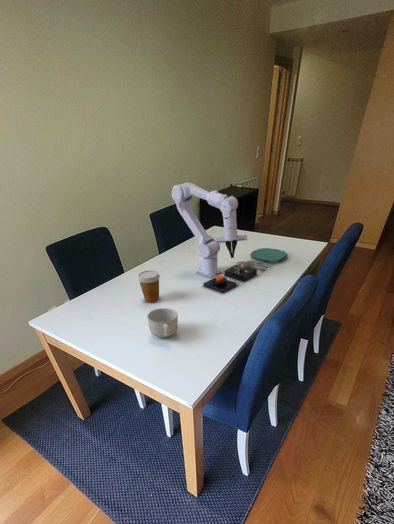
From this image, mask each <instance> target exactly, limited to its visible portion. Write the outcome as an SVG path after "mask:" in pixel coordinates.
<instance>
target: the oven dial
mask: <svg viewBox="0 0 394 524" xmlns="http://www.w3.org/2000/svg"><path fill="white" fill-rule="evenodd" d="M245 262H246V261H244V260H242V261H237V262H236V265H237V271H244V270H245V265H246V264H245Z"/></svg>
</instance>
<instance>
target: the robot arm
mask: <svg viewBox="0 0 394 524" xmlns="http://www.w3.org/2000/svg"><path fill="white" fill-rule="evenodd" d="M193 197H196V198H199V199H202V200H203V201H204V200H205V201H206V202H207V204H208V205H209V206H211V207H214V208H216V209H218V210H220V212H221V213H222V214H221V215H222V219H223V220H222V221H223V232H224V236H222V237H217V238H214V236H213V235H210V234H208V232H207V231H206V230H205V228H204V227H203V225H202V223H201V222H200V221H199V219H198V217H197V216H196V214H195V212H194V211H193V210H192V208H191V202H192V199H193ZM171 198H172V199H173V201H174V203H175V206H176V209H177V211H178V213H179V214H180V216H181V217H182V219H183V220H184V222H185V223H186V225H187V226H188V228H189V230H190V231H191V233H192V234H193V236H194V237H195V239H196V240H197V242H198V243H197V249H198V250H199V254H200V255H199V257H198V271H197V274H201V275H203V276H206V277H209V278H212V277H213V278H214V277H216V276H217V275H220V274H221V273H222V271H221V270H218V256H219V255H218V254H219V252H220V250H221V245H220V244H222V243H223V244H225V246H226V249H227V250H228V253H229V255H230V259H234V258H235V251H236V249H237V245H238V242H241V241H245V242H246V241H248V235H247V234H239V235H238V224H237V209H238V207H239V201H238V199H237V198H236V197H235V196H234V195H230V196H228V195H227V194H223V193H221V192H219V190H216V189H215V190H212V191H208V190H205V189H203V188H201V187H200V186H197V185H196V184H195V183H193V182H192V183H191V182H189V181H187V182H185V183H180V184H175V185H173V187H172V188H171Z"/></svg>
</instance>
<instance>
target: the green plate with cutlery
mask: <svg viewBox="0 0 394 524" xmlns="http://www.w3.org/2000/svg"><path fill="white" fill-rule="evenodd" d="M249 257H250V258H251V259H254V260H257V261H253V260H246V261H244V262H245V266H247V267H251V268H255V269H257V271H258V270H259V271H260V270H261V271H264V272H265V271H266V269H269V268H271V267H272V265H269V264H265V263H262V262H268V263H269V262H271V263H272V264H273V265H275V264H277V263H278V262H279V261H283V260H284V259H286V258H287V257H288V253H287V252H286V251H285V250H281V249H277V248H270V247H261V248H258V249H255V250H253V251H252V252H251V253H250V254H249ZM258 261H260V262H258Z"/></svg>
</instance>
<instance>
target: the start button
mask: <svg viewBox="0 0 394 524" xmlns="http://www.w3.org/2000/svg"><path fill="white" fill-rule="evenodd" d="M215 277H216V281H223V280H224V277H225V276H224V275H222V274H217V275H215Z"/></svg>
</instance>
